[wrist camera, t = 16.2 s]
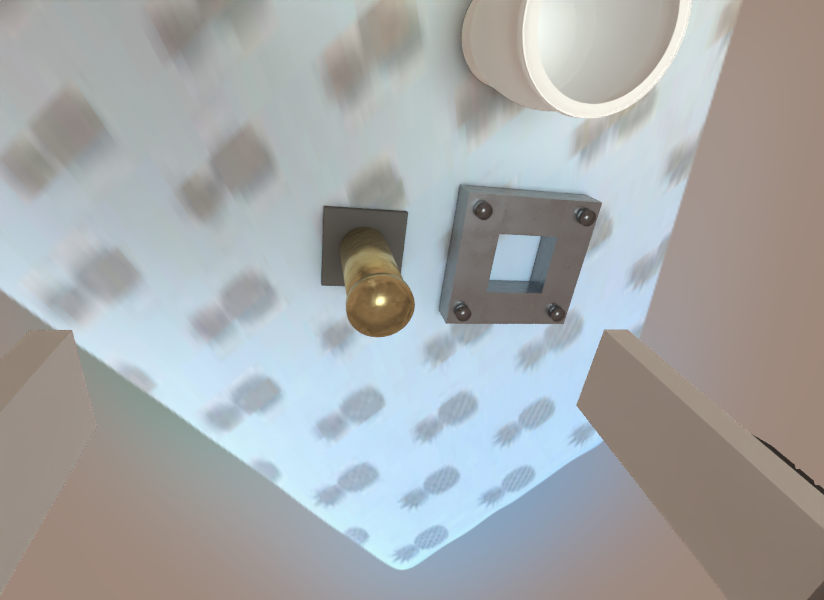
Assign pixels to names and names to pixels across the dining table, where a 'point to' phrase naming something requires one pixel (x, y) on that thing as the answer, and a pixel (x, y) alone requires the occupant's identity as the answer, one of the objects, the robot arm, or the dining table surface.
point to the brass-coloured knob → (373, 284)
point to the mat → (348, 219)
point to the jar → (573, 50)
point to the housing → (554, 266)
